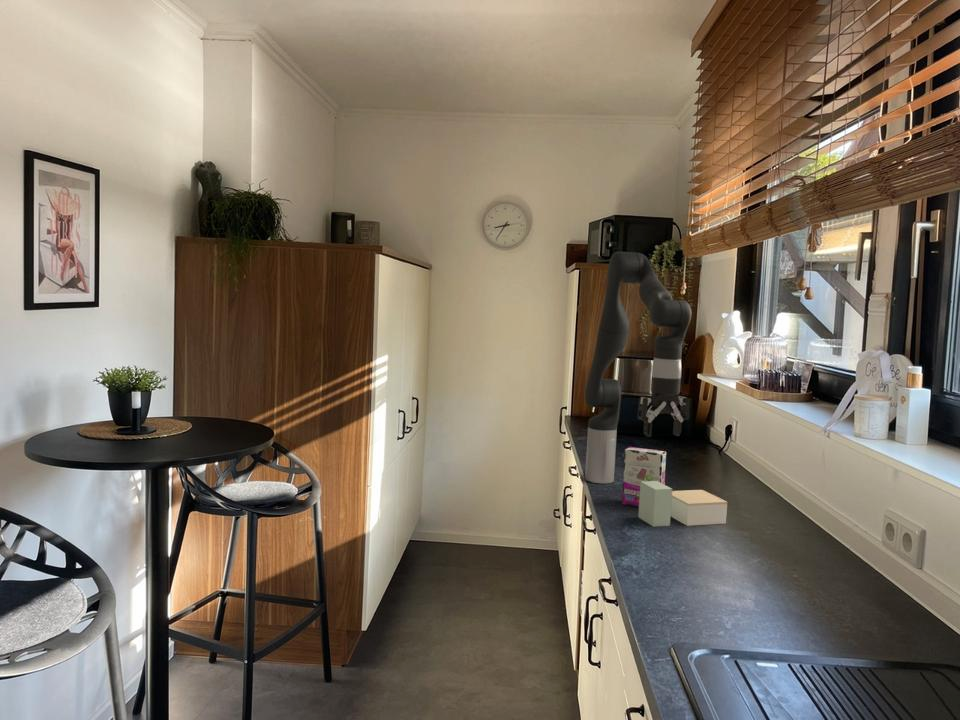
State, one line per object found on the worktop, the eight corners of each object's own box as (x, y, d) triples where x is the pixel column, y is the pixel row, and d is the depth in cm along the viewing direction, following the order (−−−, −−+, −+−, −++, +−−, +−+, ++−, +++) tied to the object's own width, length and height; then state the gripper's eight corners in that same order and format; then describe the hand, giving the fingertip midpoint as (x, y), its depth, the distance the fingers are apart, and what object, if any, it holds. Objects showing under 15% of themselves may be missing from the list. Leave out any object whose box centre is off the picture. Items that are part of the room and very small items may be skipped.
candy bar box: (663, 506, 212) (667, 451, 211) (659, 511, 208) (663, 454, 206) (625, 500, 217) (629, 445, 216) (620, 504, 213) (624, 448, 211)
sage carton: (638, 517, 201) (640, 481, 200) (654, 516, 203) (656, 480, 202) (653, 526, 194) (655, 489, 193) (669, 525, 195) (672, 488, 194)
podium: (663, 512, 207) (664, 491, 206) (700, 510, 210) (702, 489, 210) (686, 525, 195) (688, 503, 195) (725, 523, 199) (727, 501, 198)
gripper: (681, 373, 200) (677, 432, 202) (635, 373, 196) (631, 433, 198) (697, 377, 193) (693, 438, 195) (649, 377, 189) (645, 439, 190)
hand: (662, 435), depth 196 cm, fingers open, 8 cm apart
